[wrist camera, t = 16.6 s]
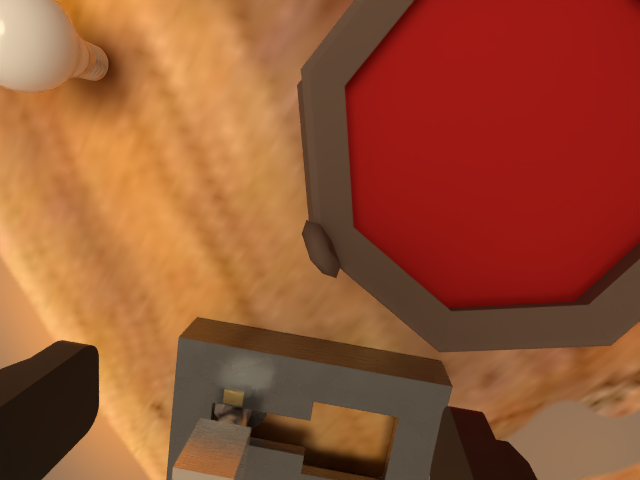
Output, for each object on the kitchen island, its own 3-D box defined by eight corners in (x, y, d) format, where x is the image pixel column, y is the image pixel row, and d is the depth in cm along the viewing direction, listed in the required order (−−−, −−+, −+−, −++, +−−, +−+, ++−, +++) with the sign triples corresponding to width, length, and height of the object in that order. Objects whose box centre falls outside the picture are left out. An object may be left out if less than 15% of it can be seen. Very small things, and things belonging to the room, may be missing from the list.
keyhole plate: (441, 360, 36) (453, 388, 31) (408, 492, 39) (415, 532, 35) (197, 317, 36) (177, 338, 32) (184, 449, 39) (165, 484, 35)
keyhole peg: (273, 377, 37) (242, 474, 26) (266, 424, 38) (233, 537, 27) (220, 367, 37) (165, 459, 26) (214, 414, 38) (159, 522, 27)
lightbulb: (151, 64, 32) (52, 19, 21) (103, 122, 33) (-14, 109, 22) (90, 2, 31) (-44, -76, 21) (43, 65, 33) (-107, 22, 22)
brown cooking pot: (380, 336, 36) (405, 486, 20) (248, 79, 32) (147, 6, 16) (658, 216, 32) (971, 280, 16) (547, -92, 28) (808, -415, 12)
